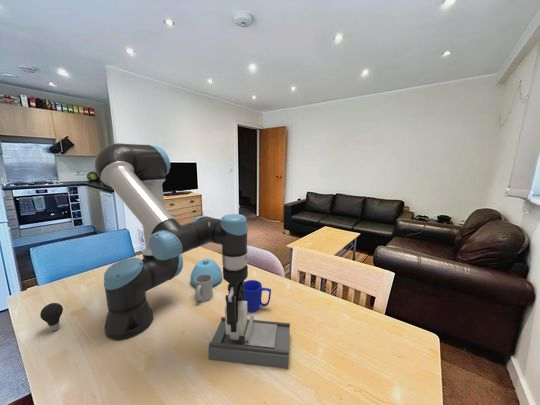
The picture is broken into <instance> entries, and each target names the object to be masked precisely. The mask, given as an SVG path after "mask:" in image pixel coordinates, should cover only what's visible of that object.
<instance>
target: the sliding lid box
mask: <svg viewBox="0 0 540 405" xmlns="http://www.w3.org/2000/svg"><path fill="white" fill-rule="evenodd" d="M249 320H250V318H247V322H248V323H249ZM254 322H255V323H266V324H277V331H276V340H275V348H274V349H271V348H262V347H252V346H245V336H239V340H234V339H230V338H229V335H228V334H226V327H225V316H221V318H220V323H219V325H218V327H217V328H216V331H215V333H214V335H213V337H212V338H211V341H209V343H208V349H207V350H208V351H207V352H208V360H211V361H220V362H227V363H236V364H245V365H246V364H247V365H252V366H253V365H255V366H264V367H272V368H280V369H289V360H290V358H289V356H290V354H289V353H290V336H291V334H290V332H291V331H290V329H291V323H290V322H283V321H281V322H279V321H270V320H269V321H268V320H259V319H254ZM247 327H248V326H247ZM246 330H247V329H246Z"/></svg>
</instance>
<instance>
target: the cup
mask: <svg viewBox="0 0 540 405" xmlns="http://www.w3.org/2000/svg"><path fill="white" fill-rule="evenodd" d="M194 290H195V293H194V294H195V299H196V300H197V301H198V302H202V303H203V302H208V301H209V300H211V299H212V297H213V295H214V294H213V287H212V276H211V275H208V274H202V275H199V276H197V277H196V278H195V286H194Z"/></svg>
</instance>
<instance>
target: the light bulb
mask: <svg viewBox="0 0 540 405" xmlns="http://www.w3.org/2000/svg"><path fill="white" fill-rule="evenodd" d="M63 311H64V308H63V306H62V304H60V303H59V302H53V303H52V302H51V303H49V304H46V305H44V307H43V308H42V309H41V311H40V315H39V316H40V318H41V320H42V321H44V322H45V323H46V324H47V325H48V327H49V330H50V331H51V332H53V331H57V330H58V329H59V328H60V318H61V317H62V314H63Z"/></svg>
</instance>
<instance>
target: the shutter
mask: <svg viewBox="0 0 540 405" xmlns="http://www.w3.org/2000/svg"><path fill="white" fill-rule="evenodd" d="M249 319H250V320H249V323H248V327H247V330H246V333H245V346H252V347H262V348H271V349H274V348H275V340H276V331H277V324H266V323H255V322H254V320H255V315H250V317H249Z"/></svg>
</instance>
